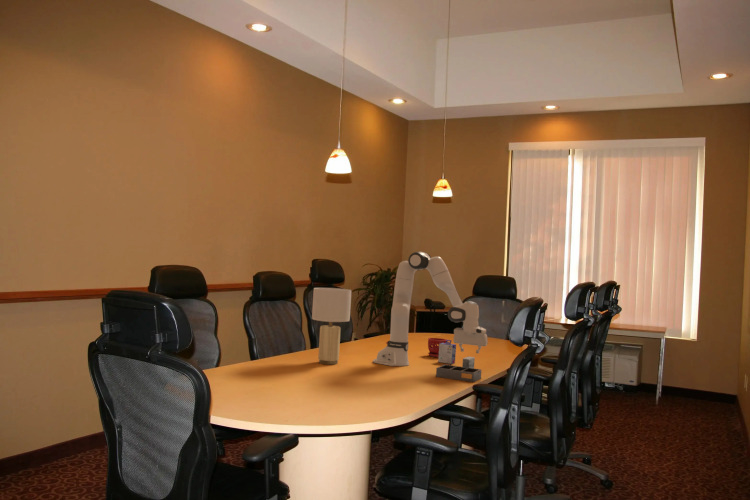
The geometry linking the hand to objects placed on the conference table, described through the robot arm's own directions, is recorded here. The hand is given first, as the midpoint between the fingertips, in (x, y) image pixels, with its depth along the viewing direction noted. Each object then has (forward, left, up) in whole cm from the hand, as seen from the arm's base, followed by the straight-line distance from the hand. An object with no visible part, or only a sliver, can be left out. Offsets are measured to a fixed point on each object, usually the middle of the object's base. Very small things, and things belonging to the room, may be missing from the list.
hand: (469, 352), depth 370 cm
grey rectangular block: (0, 0, -12) cm, 12 cm away
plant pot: (-36, +43, -13) cm, 58 cm away
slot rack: (0, -17, -12) cm, 21 cm away
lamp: (-77, -32, -13) cm, 85 cm away
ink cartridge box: (-22, +24, -13) cm, 35 cm away
